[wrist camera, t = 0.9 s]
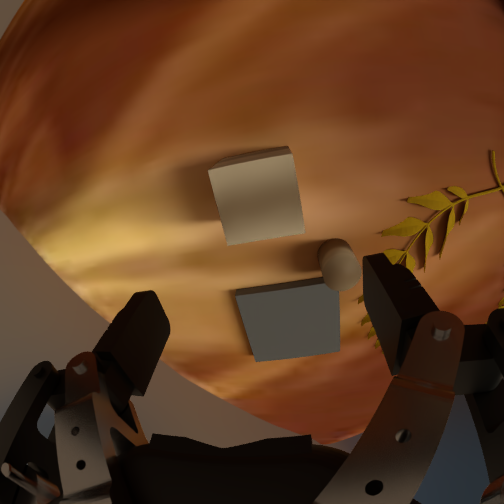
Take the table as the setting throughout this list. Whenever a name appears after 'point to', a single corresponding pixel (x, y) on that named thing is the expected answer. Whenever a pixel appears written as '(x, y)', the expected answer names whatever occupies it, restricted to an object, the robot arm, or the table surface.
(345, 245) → the cork cylinder
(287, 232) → the metal cube
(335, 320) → the slate coaster
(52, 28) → the table surface
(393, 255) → the yellow leafy sprig
